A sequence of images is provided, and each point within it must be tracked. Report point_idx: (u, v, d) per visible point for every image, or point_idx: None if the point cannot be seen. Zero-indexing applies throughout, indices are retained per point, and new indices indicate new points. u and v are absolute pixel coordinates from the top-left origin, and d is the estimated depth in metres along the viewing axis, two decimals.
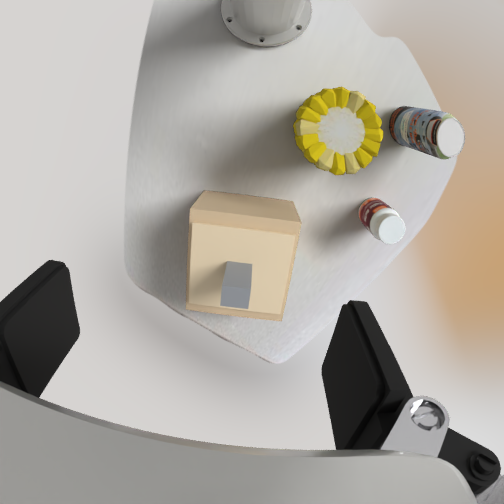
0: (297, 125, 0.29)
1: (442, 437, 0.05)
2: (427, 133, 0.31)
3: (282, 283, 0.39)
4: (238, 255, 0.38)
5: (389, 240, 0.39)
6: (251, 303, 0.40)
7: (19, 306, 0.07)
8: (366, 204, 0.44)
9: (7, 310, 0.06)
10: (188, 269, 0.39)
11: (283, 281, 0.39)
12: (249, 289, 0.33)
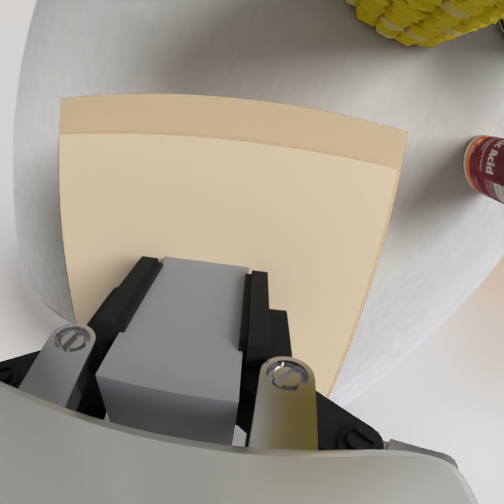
0: None
1: (313, 392, 0.06)
2: None
3: (342, 326, 0.12)
4: (200, 237, 0.11)
5: None
6: None
7: (132, 302, 0.08)
8: (481, 143, 0.17)
9: (123, 306, 0.07)
10: None
11: (346, 320, 0.12)
12: (230, 401, 0.06)
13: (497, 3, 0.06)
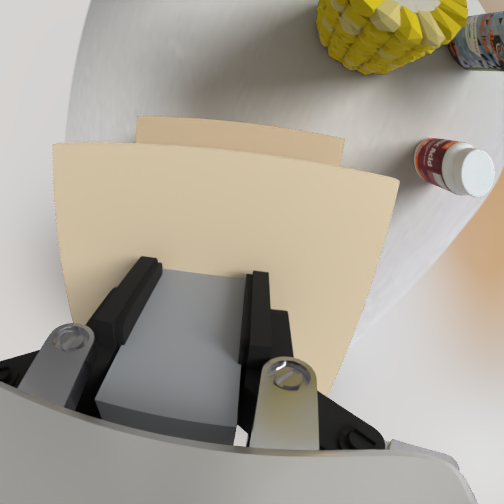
0: None
1: (314, 392, 0.06)
2: None
3: (341, 336, 0.12)
4: (198, 249, 0.11)
5: (475, 190, 0.20)
6: None
7: (131, 302, 0.08)
8: (426, 144, 0.25)
9: (122, 306, 0.07)
10: None
11: (345, 330, 0.12)
12: (228, 426, 0.06)
13: (412, 47, 0.14)
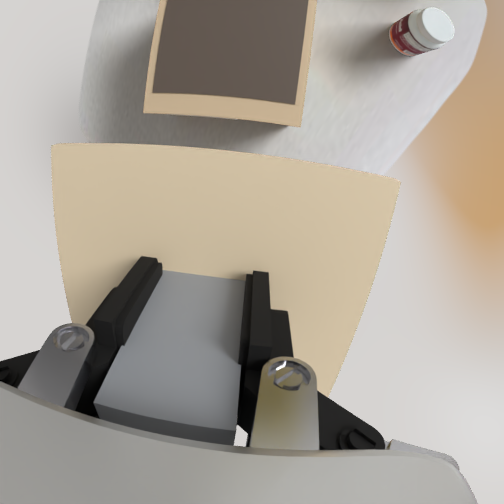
0: None
1: (314, 392, 0.06)
2: None
3: (341, 338, 0.12)
4: (197, 251, 0.10)
5: (438, 35, 0.20)
6: None
7: (131, 302, 0.08)
8: (397, 21, 0.25)
9: (121, 306, 0.07)
10: (153, 45, 0.21)
11: (345, 332, 0.12)
12: (228, 430, 0.06)
13: None
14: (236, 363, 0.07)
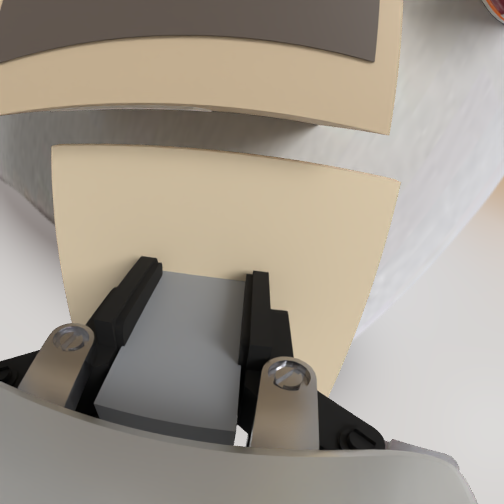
0: None
1: (314, 392, 0.06)
2: None
3: (341, 338, 0.12)
4: (197, 251, 0.10)
5: None
6: None
7: (131, 302, 0.08)
8: None
9: (122, 306, 0.07)
10: None
11: (345, 333, 0.12)
12: (228, 430, 0.06)
13: None
14: (236, 364, 0.07)
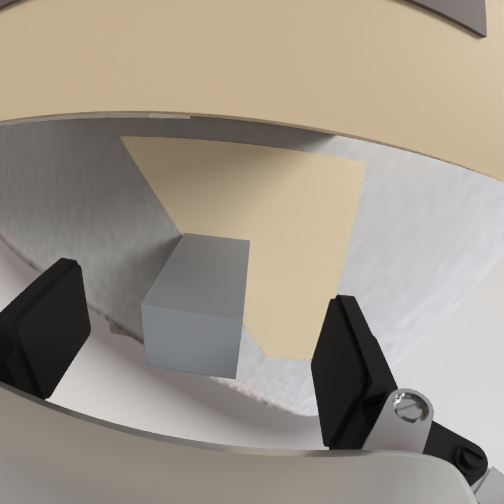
0: None
1: (427, 429, 0.05)
2: None
3: (326, 290, 0.15)
4: (212, 216, 0.14)
5: None
6: None
7: (33, 303, 0.07)
8: None
9: (22, 307, 0.06)
10: None
11: (329, 285, 0.15)
12: (237, 319, 0.09)
13: None
14: (242, 284, 0.11)
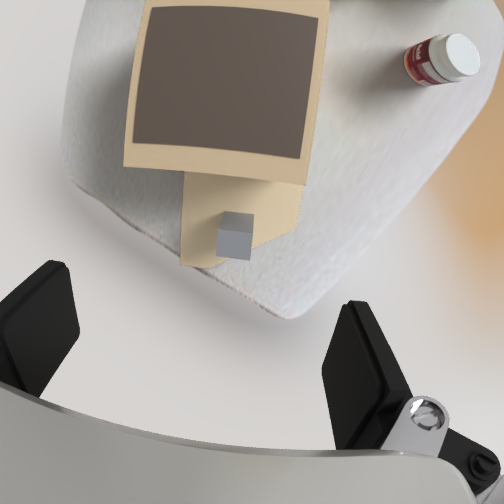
0: None
1: (442, 437, 0.05)
2: None
3: None
4: (237, 203, 0.32)
5: (463, 68, 0.18)
6: None
7: (19, 306, 0.07)
8: (413, 46, 0.23)
9: (7, 310, 0.06)
10: (132, 83, 0.18)
11: None
12: (251, 233, 0.27)
13: None
14: (252, 226, 0.29)
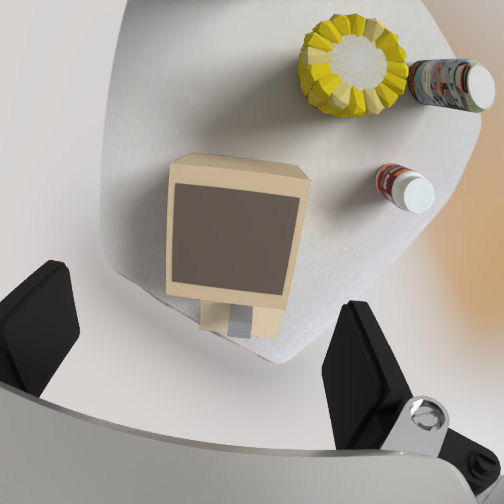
0: (303, 53, 0.21)
1: (442, 437, 0.05)
2: (455, 80, 0.22)
3: (278, 313, 0.46)
4: None
5: (416, 208, 0.30)
6: (252, 330, 0.47)
7: (19, 306, 0.07)
8: (384, 170, 0.35)
9: (7, 310, 0.06)
10: (168, 242, 0.31)
11: (279, 312, 0.46)
12: (251, 323, 0.39)
13: None
14: (251, 314, 0.41)
